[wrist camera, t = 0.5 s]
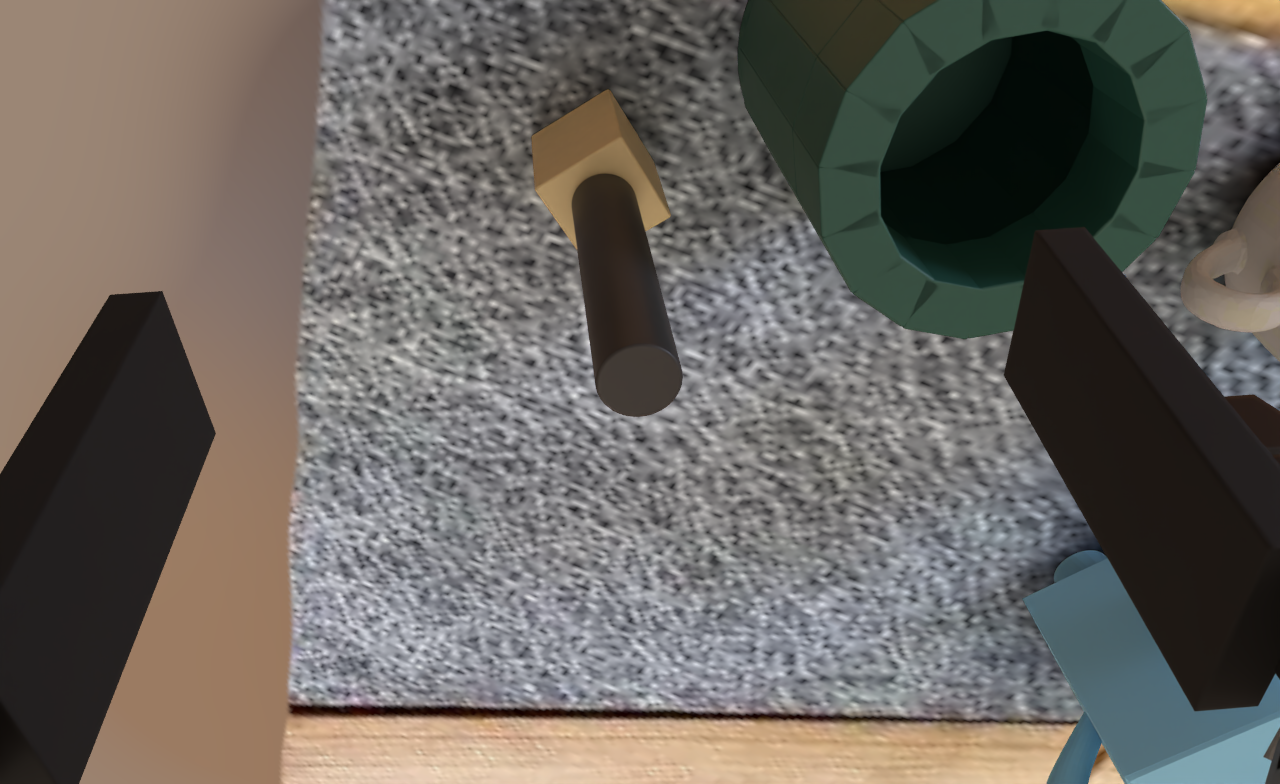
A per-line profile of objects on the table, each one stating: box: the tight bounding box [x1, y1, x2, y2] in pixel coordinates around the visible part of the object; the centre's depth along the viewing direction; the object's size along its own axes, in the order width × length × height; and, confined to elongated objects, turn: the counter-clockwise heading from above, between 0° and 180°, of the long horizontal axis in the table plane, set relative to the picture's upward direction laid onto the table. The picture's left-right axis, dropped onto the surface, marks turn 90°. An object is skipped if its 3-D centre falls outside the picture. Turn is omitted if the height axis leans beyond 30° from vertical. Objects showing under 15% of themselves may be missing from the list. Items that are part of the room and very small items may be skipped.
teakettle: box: [1023, 550, 1280, 784], centre depth 50 cm, size 19×19×15 cm
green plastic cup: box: [738, 0, 1207, 339], centre depth 34 cm, size 11×11×12 cm
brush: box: [531, 89, 683, 417], centre depth 33 cm, size 3×3×16 cm
